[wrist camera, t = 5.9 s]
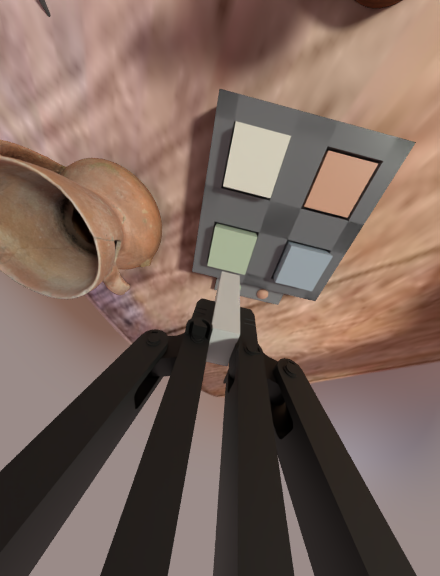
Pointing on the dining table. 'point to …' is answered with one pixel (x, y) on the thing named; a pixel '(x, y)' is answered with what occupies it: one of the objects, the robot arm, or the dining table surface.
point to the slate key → (301, 266)
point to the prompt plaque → (257, 293)
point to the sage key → (231, 248)
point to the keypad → (290, 189)
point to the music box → (377, 3)
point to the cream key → (255, 159)
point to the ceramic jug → (72, 223)
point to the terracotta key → (338, 183)
